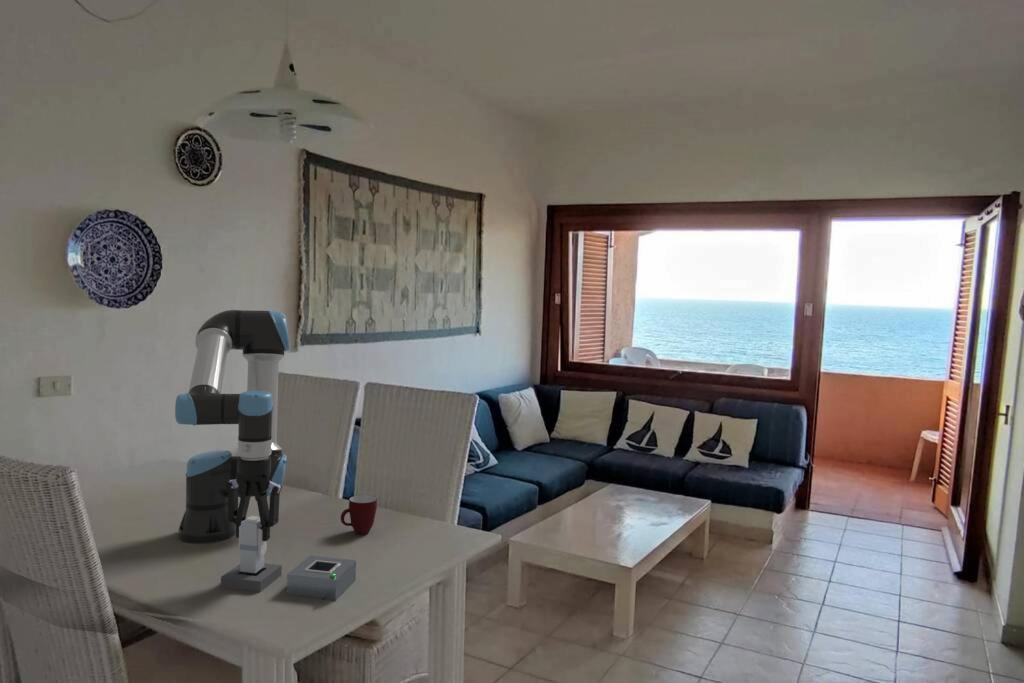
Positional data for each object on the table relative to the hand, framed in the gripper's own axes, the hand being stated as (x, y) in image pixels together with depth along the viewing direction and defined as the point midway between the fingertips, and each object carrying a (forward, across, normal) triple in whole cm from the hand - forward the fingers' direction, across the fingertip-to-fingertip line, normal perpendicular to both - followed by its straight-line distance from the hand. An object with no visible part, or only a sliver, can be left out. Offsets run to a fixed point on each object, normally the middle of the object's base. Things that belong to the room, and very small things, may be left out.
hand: (252, 552), depth 165 cm
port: (+7, +17, +2) cm, 19 cm away
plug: (+4, 0, 0) cm, 4 cm away
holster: (+7, 0, 0) cm, 7 cm away
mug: (+8, +11, +40) cm, 42 cm away
